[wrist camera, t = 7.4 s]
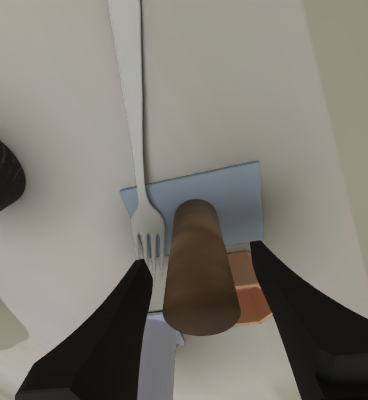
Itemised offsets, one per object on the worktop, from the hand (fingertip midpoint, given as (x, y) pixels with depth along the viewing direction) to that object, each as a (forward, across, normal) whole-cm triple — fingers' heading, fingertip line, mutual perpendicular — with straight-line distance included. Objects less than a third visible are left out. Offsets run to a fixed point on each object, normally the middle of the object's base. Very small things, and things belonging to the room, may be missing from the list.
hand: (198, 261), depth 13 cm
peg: (+6, 0, 0) cm, 6 cm away
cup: (+6, -3, +8) cm, 11 cm away
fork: (+6, +3, -6) cm, 9 cm away
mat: (+6, 0, 0) cm, 6 cm away
